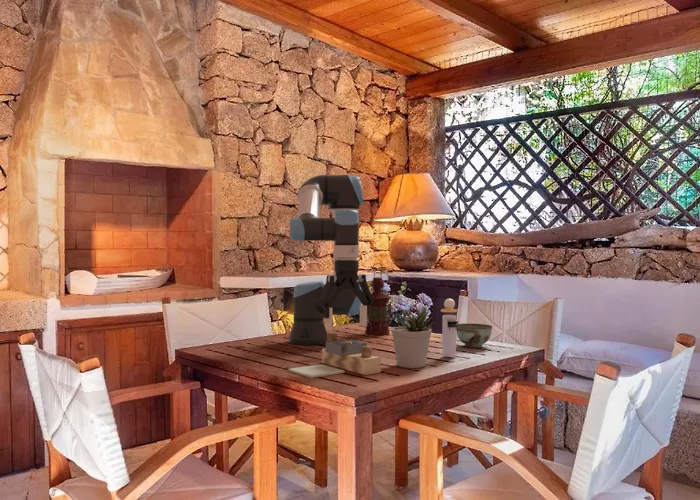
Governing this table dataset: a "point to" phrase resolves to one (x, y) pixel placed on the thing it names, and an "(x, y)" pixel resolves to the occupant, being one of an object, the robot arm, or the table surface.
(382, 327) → the lantern
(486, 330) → the bowl
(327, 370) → the felt pad
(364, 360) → the body
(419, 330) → the potted plant
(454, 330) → the perfume bottle
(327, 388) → the table surface
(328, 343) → the grey block with knob
